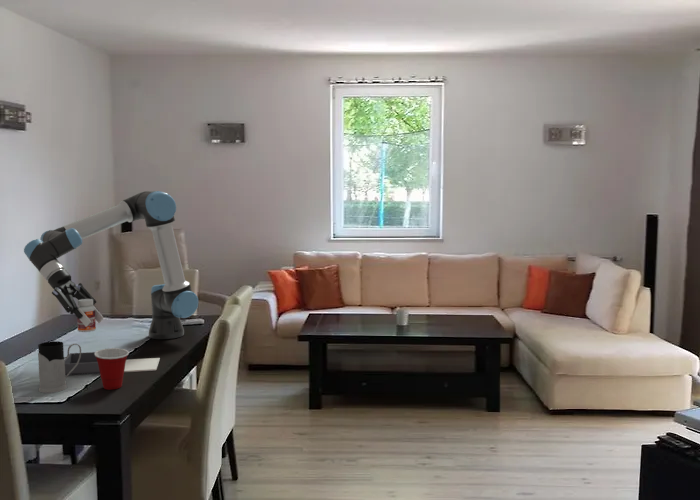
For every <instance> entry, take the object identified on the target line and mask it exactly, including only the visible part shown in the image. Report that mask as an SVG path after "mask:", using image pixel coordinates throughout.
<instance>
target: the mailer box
mask: <svg viewBox="0 0 700 500" xmlns="http://www.w3.org/2000/svg"><path fill="white" fill-rule="evenodd" d="M95 352H96V351H92V352H81V358H80V361H79V363H78V365H77V366H76V367H75V369H74V370H73V371H72V372H71V373H70V374H69V375H68V376H79V375H97V374H99V375H100V371H99V366H98V362H97V358H96V356H95V354H94V353H95ZM79 355H80V352H74V353H73V352H71V353H70V352H69V357H68V358H65V376H66V375H67V374H68V373H69V372H70V371H71V370H72V369H73V367H74V366H75V365H76V363H77V361H78V359H79ZM160 359H161V358H160V357H151V358H150V357H149V358H131V359H126V363H125V370H124V373H134V372H151V371H157V369H158V367H159V362H160Z"/></svg>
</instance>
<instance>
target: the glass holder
mask: <svg viewBox="0 0 700 500" xmlns="http://www.w3.org/2000/svg"><path fill="white" fill-rule="evenodd" d="M73 346H77V347H78V348H79V353H80V355H79V359H78V361H77V363H76V365H75V366H74V367H73V369H72V370H71V371H70V372H69V373H68V374H67V375H65V359H66V358H68V357H69V354H70V351H71V348H72V347H73ZM37 348H38V353H37V356H38V357H37V359H38V360H37V361H38V377H39V388H38V392H40V393H44V394H45V393H46V394H51V393H58V392H61V391H65V390H66V389H67V388H68V385H67V383H66V382H67V378H68V376H70V375H69V374H70V373H71V372H72V371H73V370H74V369H75V367H76V366H77V365H78V363H79V361H80V358H81V353H82V347H81V345H80V344H77V343H71V344H70V345H69V346H68V349H67V354H66V356H65V353H64V352H65V351H64V350H65V349H64V342H62V341H56V340H54V341H47V342H45V341H44V342H41V343H39V344H38V347H37Z"/></svg>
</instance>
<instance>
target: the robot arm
mask: <svg viewBox="0 0 700 500" xmlns="http://www.w3.org/2000/svg"><path fill="white" fill-rule="evenodd" d="M176 212H177V204H176V201H175V199H174V198H173V196H171V195H170V194H169V193H167V192H164V191H159V190H156V191H155V190H153V191H152V190H151V191H148V190H147V191H141V192H139V193H136V194H135V195H134V194H133V195H132V196H129V197H128V198H124V199H123V200H121V201H119V203H118V204H117V205H115V206H111V207H110V208H106V209H105V210H101V211H99V212H96V213H94V214H92V215H88V216H86V217H84V218H81V219H79V220H75V221H74V222H70V223H68V224H66V225H63V226H61V227H58V228H56V229H50V230H46V231H44V232H43V233H42V234H41V236H40V238H37V239H32V240H31V241H29V242H28V243H26V245H25V246H24V248H23V254H25V256H26V257H27V258H28V260H29V262H31V264H32V265H33V266H34V268H36V269H37V271H38V272H39V273H40V275H42V277H43V278H44V279H45V281H46V282H47V283H48V284H49V286H51V289H53V290H52V292H51V294H52V296H54V297H55V298H56V299H57V301H58V302H59V303H60V305H61V306H62V307H63V309H64V310H65V311H66V313H68V314H69V313H70V315H74V316H75V317H76V318H78V319H80V321H81V322H82V323H83V324H84V325H85V327H86V326H88V325H89V323H90V322H91V320H90V319H89V318H88V317H87V316H86V314H85V313H84V312H83V311H82V310H81V308H79V309H78V307H79V306H78V304H77V303H76V301H75V299H77V301H78V300H81V299H93V305H92V306H93V307H95V322H97V324H100V323H101V322H102V321H103V320H104V318H105V317H104V316H103V315H102V313H101V312H100V310H99V309H98V308H97V307H96V306H95V305H96V303H97V300H96V299H94V297H93V296H92V295H91V294H90V293H89V291H88V290H87V289H86V288H85V287H84V285H83V283H82V282H79V283H77V284H76V283H75V282H74V281H73V280H72V276H71V274H70V273H69V272H68V271H67V269H65V266H63V264H62V263H61V262H60V261H59V260H58V259H59V258H61V257H62V256H65V255H67V254H68V253H70V252H71V251H74V250H76V249H77V248H78V247H80V246H82V244H83V239H84V240H85V239H87V238H89V237H91V236H94V235H96V234H98V233H101V232H105V231H106V230H108V229H111V228H113V227H116V226H119V225H121V224H123V223H126V222H128V223H132V222H134V221H135V222H136V221H138V220H144V222H145V226H146V228H148V229H149V230H150V231H151V233H152V238H153V242H154V248H155V250H156V254H157V259H158V261H159V262H158V263H159V267H160V270H161V275H162V278H163V284H154V285H153V286H151V291H150V298H151V315H152V316H151V317H152V319H151V322H150V327H149V329H148V338H150V339H153V340H169V339H170V340H171V339H176V338H177V339H178V338H181V337H183V336H184V335H185V328H184V326H183V323H182V320H181V318H182V319H186V318H189V317H191V316H192V315H194V314H195V313H196V312H197V309H198V308H199V297H198V295H197V294H196V293H195V292H194V291H192V286H191V283H190V281H187V280H186V277H185V273H184V269H183V265H182V261H181V256H180V253H179V248H178V244H177V240H176V236H175V235H176V234H175V232H174V226H173V225H174V223H175V222H176V219H175V214H176ZM74 298H75V299H74Z"/></svg>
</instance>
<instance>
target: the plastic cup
mask: <svg viewBox="0 0 700 500" xmlns="http://www.w3.org/2000/svg"><path fill="white" fill-rule="evenodd" d="M94 352H95V353H94V354H95V356H96V358H97V362H98V366H99V371H100V374H99V375H100V379H101V382H102V383H101V384H102V386H103V389H104V390H108V391H109V390H117V389H120V388H122V387H123V381H124V376H125V375H124V374H125V372H124V370H125V363H126V360H127V359H128V356H129V354H130V352H129V350H127V349H126V348H125V349H123V348H117V347H115V348H113V347H112V348H109V347H108V348H104V349H99V350H96V351H94Z"/></svg>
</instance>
